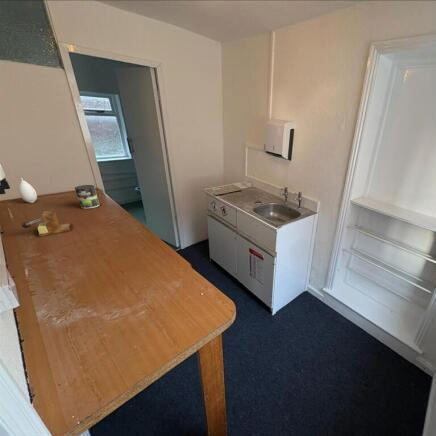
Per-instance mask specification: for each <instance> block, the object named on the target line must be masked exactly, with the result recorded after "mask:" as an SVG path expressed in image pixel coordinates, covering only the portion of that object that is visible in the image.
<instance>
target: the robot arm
mask: <svg viewBox="0 0 436 436" xmlns="http://www.w3.org/2000/svg"><path fill="white" fill-rule="evenodd" d="M10 189H11V186H10V184H9V182H8V180H7V178H6V173H5V171H4V168H3V167H2V165H1V163H0V195H5V194H7V193H6V191H5V190H10Z"/></svg>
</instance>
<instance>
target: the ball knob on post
mask: <svg viewBox="0 0 436 436" xmlns="http://www.w3.org/2000/svg"><path fill="white" fill-rule="evenodd" d="M50 213H52V212H50ZM40 221H44V219H43V216H41V217H39V218H36V219H34V220H32V221H24V222H22V223H21V227H22V228H23V229H28V228H30V227H31V225H32V224H36V223H38V222H40Z"/></svg>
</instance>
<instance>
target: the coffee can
mask: <svg viewBox="0 0 436 436" xmlns="http://www.w3.org/2000/svg"><path fill="white" fill-rule="evenodd" d="M74 190H75V193H76V196H77V199H78V202H79V205H80V208H81V209H83V210H84V209H85V210H86V209H94V208H97V207H100V201H99V199H98V198H99V197H98V195H97V191H96V188H95V185H93V184H83V185H78V186H75V187H74Z"/></svg>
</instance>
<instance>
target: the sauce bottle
mask: <svg viewBox="0 0 436 436" xmlns="http://www.w3.org/2000/svg"><path fill="white" fill-rule="evenodd" d="M20 178H21V181H20V183H19V185H18V193H19V196H20V197H21V199H22V200H23V201H24V202H25V203H29V204H32V203H33V204H34V203H35V202H36V201H37V199H38V195H37V194H38V193H37V192H36V190H35V188H34V187H33V186H32V185H31V184H30V183H29V182H27V181H26V180H24V179H23V178H22V177H20Z"/></svg>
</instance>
